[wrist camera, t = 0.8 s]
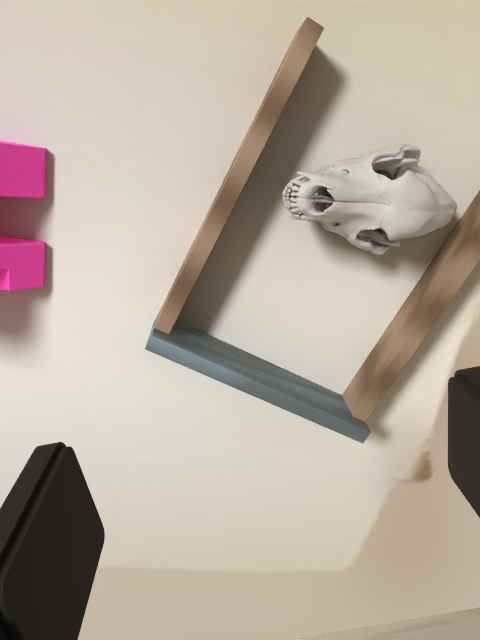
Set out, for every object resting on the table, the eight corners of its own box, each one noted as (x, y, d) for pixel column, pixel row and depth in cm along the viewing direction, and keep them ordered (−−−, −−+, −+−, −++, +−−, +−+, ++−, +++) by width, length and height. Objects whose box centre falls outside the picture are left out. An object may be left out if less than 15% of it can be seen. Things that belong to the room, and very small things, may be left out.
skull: (445, 263, 34) (369, 286, 26) (347, 232, 40) (257, 243, 31) (483, 156, 31) (410, 144, 23) (370, 138, 36) (278, 122, 28)
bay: (297, 31, 30) (312, 9, 26) (510, 170, 35) (557, 173, 30) (153, 324, 37) (145, 349, 33) (345, 410, 42) (362, 443, 37)
